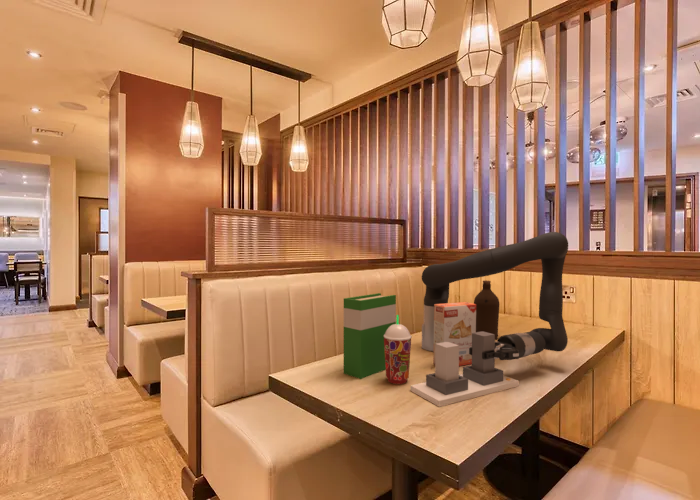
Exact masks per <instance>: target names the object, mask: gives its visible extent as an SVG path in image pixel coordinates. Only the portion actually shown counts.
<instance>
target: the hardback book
mask: <svg viewBox="0 0 700 500" xmlns="http://www.w3.org/2000/svg"><path fill="white" fill-rule="evenodd" d="M396 311H397V295H396V294H390V295H382V293H381V292H379V293H372V294H365V295H358V296H353V297H343V374H344V375H346V376H347V375H348V376H350V377H353V378H356V379H359V380H362V379H365V378H368V377H370V376H373V375H375V374H378V373H381V372H383V371H386V366H385V349H384V334H385V332H386V330H387V329H388V328H389V327H390V326H391V325H393V324H396V321H397V312H396Z"/></svg>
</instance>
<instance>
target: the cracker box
mask: <svg viewBox="0 0 700 500" xmlns="http://www.w3.org/2000/svg"><path fill="white" fill-rule="evenodd" d="M472 333H476V304H474V302H473V303H472V302H469V301H468V302H467V301H461V302H460V301H459V302H448V303H445V304H434V350H433V351H432V352H433V359H432V361H433V363H432V364H433V365H435V344H436V343H443V342H450V343H453V344H456V345H459V367H462V366H469V365H472V355H470V354H469V348H470V347H472Z"/></svg>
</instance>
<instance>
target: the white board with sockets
mask: <svg viewBox="0 0 700 500" xmlns="http://www.w3.org/2000/svg"><path fill="white" fill-rule="evenodd" d="M434 367H435V368H434V372H433V373H427V374H425V377H426V378H425V380H426V381H425V382H424V381H423V382H418V383H416V384H411V385H409V386H410V392H412V393H414V394H416V395H417V396H419V397H421V398H423V399H424V400H426V401H428V402H430V403H432V404H433V405H435V406H438V408H439V407H444V406H447V405H451V404H455V403H458V402H464V401H467V400H471V399H474V398H478V397H483V396H485V395H489V394H494V393H497V392H500V391H505V390H508V389H512V388H516V387H519V384H520V383H519V380H518V379H515V378H512V377H509V376H506V375H504V370H502V369H499V368H497V367H495V371H493V372H489V373H484V374H483V373H481V372H478V371H476V370H473V369H472V364H470V365H465V366H463V367H462V374H460V366H459V345H456V344H453V343H450V342H443V343H436V344H435V364H434Z"/></svg>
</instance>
